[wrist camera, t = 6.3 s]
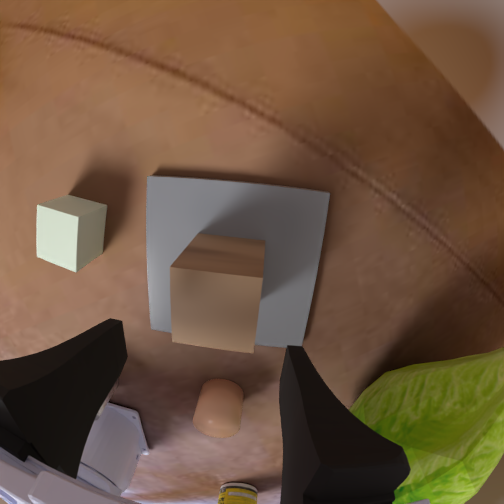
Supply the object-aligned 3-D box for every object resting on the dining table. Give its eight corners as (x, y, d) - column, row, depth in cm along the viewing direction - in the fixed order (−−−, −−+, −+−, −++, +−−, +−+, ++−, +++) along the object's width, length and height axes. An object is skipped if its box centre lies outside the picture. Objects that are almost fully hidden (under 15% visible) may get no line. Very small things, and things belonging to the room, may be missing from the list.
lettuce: (504, 350, 23) (570, 437, 8) (345, 453, 29) (360, 560, 14) (479, 254, 20) (602, 351, 5) (272, 397, 25) (266, 549, 11)
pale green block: (103, 253, 22) (76, 272, 18) (65, 240, 22) (36, 256, 18) (107, 204, 20) (78, 217, 17) (68, 194, 20) (37, 204, 17)
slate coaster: (300, 342, 23) (300, 348, 22) (154, 324, 23) (151, 329, 23) (327, 191, 19) (330, 193, 18) (151, 175, 19) (147, 176, 19)
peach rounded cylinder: (242, 409, 26) (238, 440, 23) (201, 403, 26) (193, 433, 23) (245, 381, 25) (241, 414, 21) (201, 375, 25) (191, 407, 21)
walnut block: (258, 301, 21) (253, 353, 16) (196, 293, 21) (172, 341, 16) (265, 240, 20) (262, 277, 14) (197, 233, 20) (169, 266, 14)
